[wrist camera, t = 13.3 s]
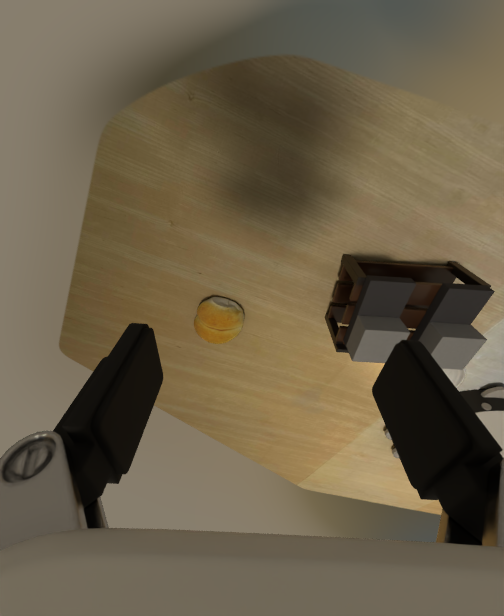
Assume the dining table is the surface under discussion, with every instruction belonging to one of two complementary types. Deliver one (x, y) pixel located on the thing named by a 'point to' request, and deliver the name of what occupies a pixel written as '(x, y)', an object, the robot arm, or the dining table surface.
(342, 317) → the rack
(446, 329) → the grey block
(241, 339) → the dining table surface
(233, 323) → the bread roll
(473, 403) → the tambourine
